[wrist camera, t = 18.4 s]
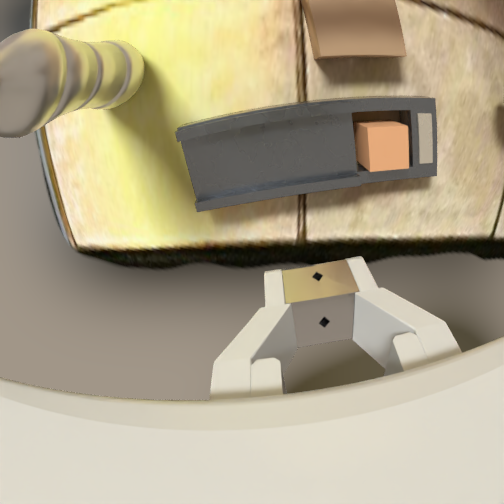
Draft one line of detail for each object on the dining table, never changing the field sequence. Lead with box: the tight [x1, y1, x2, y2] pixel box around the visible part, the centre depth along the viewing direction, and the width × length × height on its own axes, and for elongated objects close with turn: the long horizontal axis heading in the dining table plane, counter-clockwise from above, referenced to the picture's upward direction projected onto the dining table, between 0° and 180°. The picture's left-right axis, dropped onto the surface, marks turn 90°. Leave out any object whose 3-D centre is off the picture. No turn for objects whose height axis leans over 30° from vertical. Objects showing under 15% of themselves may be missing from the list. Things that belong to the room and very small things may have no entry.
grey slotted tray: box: [175, 96, 437, 212], centre depth 25 cm, size 8×24×4 cm, turn 101°
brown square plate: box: [301, 0, 406, 59], centre depth 18 cm, size 8×8×3 cm
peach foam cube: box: [353, 120, 409, 172], centre depth 24 cm, size 4×4×4 cm
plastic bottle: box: [0, 29, 144, 138], centre depth 14 cm, size 6×7×20 cm
